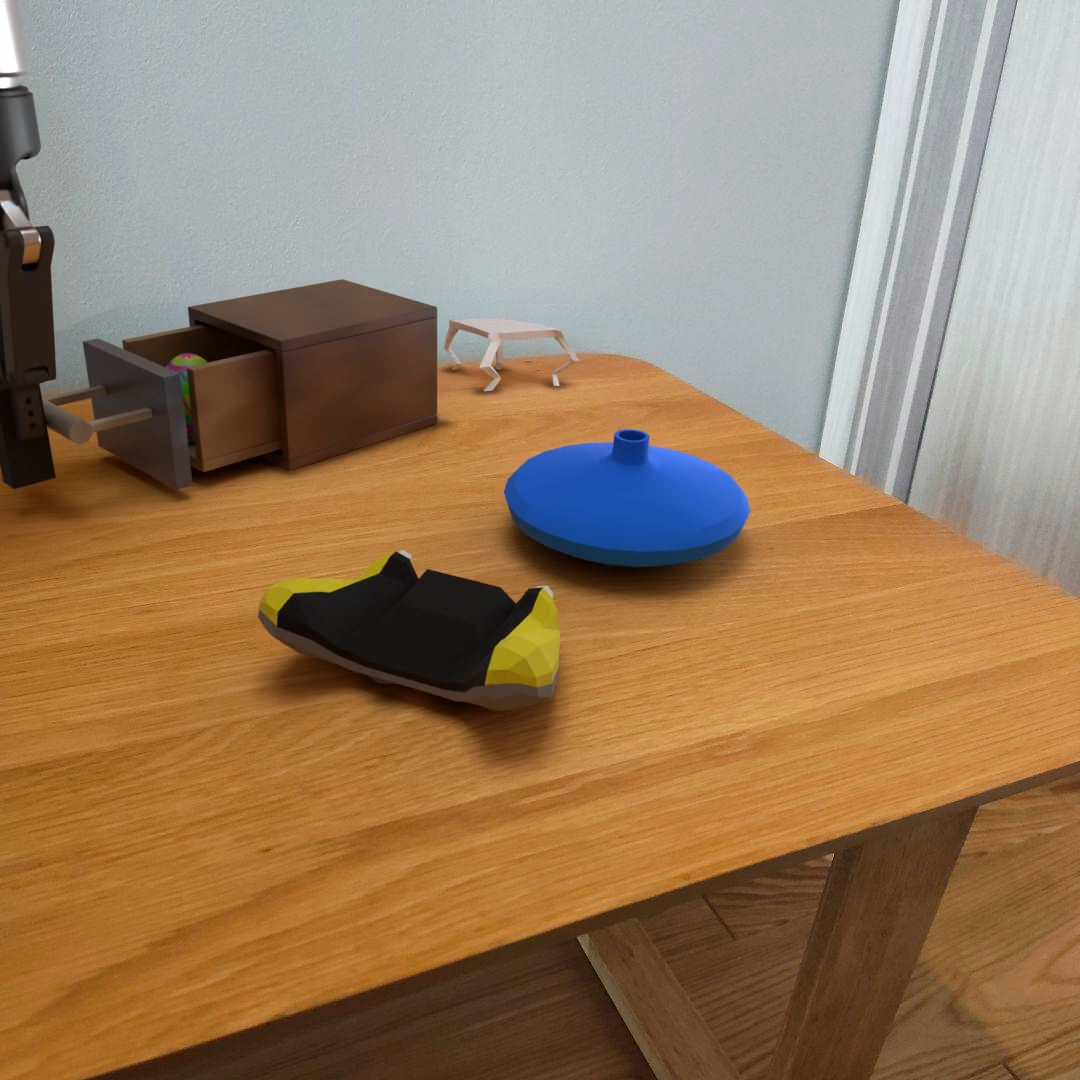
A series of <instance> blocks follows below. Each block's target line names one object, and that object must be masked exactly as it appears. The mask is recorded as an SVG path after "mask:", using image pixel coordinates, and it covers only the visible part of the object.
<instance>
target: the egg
mask: <svg viewBox="0 0 1080 1080" xmlns="http://www.w3.org/2000/svg"><path fill="white" fill-rule="evenodd" d="M204 363H208V362H207V361H206V360H204V359H203V358H201V357H200V356H198V355H195V354H191V353H185V354H181V355H179V356H177V357H175V358H174V359H173V360H171V361H170V362H169V364H168V365H167V366H166V367H165V368H168V369H170V370H172V371H175V372H177V373H179V374H180V378H181V387H182V396H183V405H184V413H185V422H186V431H187V440H188V443H195V441H194V432H193V423H192V413H191V404H190V395H189V386H188V377H187V367H191V366H195V365H200V364H204Z"/></svg>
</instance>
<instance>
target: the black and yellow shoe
mask: <svg viewBox="0 0 1080 1080" xmlns="http://www.w3.org/2000/svg"><path fill="white" fill-rule="evenodd" d="M412 556H413V555H412V554H411V553H409V552H407V551H406V550H404V549H402V550H399V551H397V550H395V551H392V552H389V553H385V554H382V555H381V556H379V557H378V558H377V559H376V560H374V562H373V563H372V564H370V565H369V567H368V568H366V569H365V570H364V571H363V572H362V573H361V574H360V575H359V576H358V577H356V578H284V579H282V580H281V581H279V582H275V584H272V585H270V586H268V587H267V588H266V590H265V592H264V593H263V595H262V597H261V598H260V600H259V606H258V615H257V618H258V620H259V621H260V622H261V625H262V626H263V627H264V629H265V630H266V631H267V632H268V634H269V635H270V636H272V637H273V638H275V639H276V640H277V641H278V642H280V643H281V644H283V645H284V646H286V647H287V648H289V649H291V650H293V651H294V652H296V653H297V654H299V655H304V656H306V657H307V656H308V657H310V658H313V659H314V658H315V659H318V660H321V661H322V660H323V661H325V662H329V663H332V664H335V665H337V666H340V667H343V668H345V669H347V670H349V671H352V672H354V673H359V674H362V675H366V676H368V678H370V679H372V680H373V681H374V682H375V683H377V684H385V685H386V684H387V685H388V684H389V685H401V686H404V687H408V688H412V689H414V690H418V691H422V692H425V693H428V694H432V695H435V696H439V697H442V698H444V699H448V700H451V701H454V702H464V703H468V704H472V705H476V706H480V707H483V708H486V709H489V710H492V711H520V710H523V709H527V708H528V707H531V706H534V705H536V704H538V703H540V702H543V701H546V700H548V699H550V698H552V697H553V695H554V692H555V689H556V686H557V684H558V680H559V671H560V670H559V668H560V649H561V648H560V647H561V632H560V626H559V614H558V609H557V607H556V603H555V601H554V593H553V591H552V589H551V588H550V587H549V585H548V584H545V585H538V586H535V587H530V588H528V589H527V590H526V591H525V592H524V593H523V595H522V596H521V597H520V598H519V599H518V601H514V599H513V598H512V597H511V596H510V595H509V594H508V593H507V592H506V591H505V590H504V589H503V588H502V586H497V585H493V584H490V583H485V582H482V581H478V580H473V579H470V578H465V577H461V576H456V575H454V574H449V573H445V572H442V571H437V570H433V569H429V568H426V569H425V571H424V572H423V573H422V574H421V575H420V577H419V576H418V574H417V572H416V570H415V568H414V566H413V557H412Z"/></svg>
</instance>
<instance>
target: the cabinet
mask: <svg viewBox="0 0 1080 1080" xmlns="http://www.w3.org/2000/svg"><path fill="white" fill-rule="evenodd" d="M187 313H188V314H187V315H188V324H189V327H191V326H196V325H201V324H209V325H212V326H214V327H217V328H220V329H222V330H225V331H228V332H230V333H233V334H236V335H238V336H241V337H244V338H246V339H249V340H252V341H254V342H257V343H260V344H262V345H265V346H268V347H270V348H273V349H276V365H277V379H278V393H279V408H280V422H281V437H282V449H279V450H276V451H273V452H269V453H266V454H263V455H259V456H258V457H261V458H263V459H265V460H266V461H270V462H272V463H273V464H276V465H277V466H280V467H282V468H284V469H286V470H288V471H293V470H296V469H299V468H301V467H305V466H308V465H312V464H314V463H318V462H321V461H324V460H326V459H330V458H333V457H336V456H339V455H342V454H346V453H349V452H352V451H354V450H355V451H356V450H359V449H361V448H364V447H367V446H372V445H374V444H378V443H380V442H383V441H386V440H389V439H392V438H396V437H398V436H401V435H404V434H408V433H411V432H415V431H417V430H421V429H423V428H428V427H430V426H433V425H436V424H438V306H435V305H431V304H428V303H425V302H422V301H418V300H415V299H412V298H408V297H404V296H401V295H399V294H394V293H392V292H387V291H384V290H381V289H378V288H373V287H370V286H367V285H364V284H360V283H357V282H353V281H349V280H346V279H343V278H341V279H335V280H330V281H325V282H318V283H314V284H307V285H303V286H302V285H301V286H296V287H290V288H286V289H285V288H284V289H280V290H273V291H269V292H264V293H257V294H251V295H246V296H240V297H235V298H229V299H225V300H224V299H223V300H217V301H213V302H207V303H201V304H196V305H191V306H187Z"/></svg>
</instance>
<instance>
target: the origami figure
mask: <svg viewBox="0 0 1080 1080" xmlns="http://www.w3.org/2000/svg"><path fill="white" fill-rule="evenodd" d="M448 323H449V324H448V326H449V327H448V329H447V333H446V335H445V342H444V347H443V349H444V351H445V352H446V353H447V354H448V355H449V357H450V358H451V359H452V360H453V361H454V362H455V365H454V366H453V367H452V368H451V371H457V370H458V369H459V368H460V367H461V366H462V362H461V361H460V360H459V359H458V357H457V356H456V355H455V354H454V352H453V351H452V350H451V348H450V347H451V345H452V342H453V340H454V337H455V336H456V335H457V334H458V332H459V330H461V331H463V332H467V333H471V334H474V335H477V336H480V337H483V338H486V339H489V342H490V343H489V345H488V347H487V348H486V350H485V352H484V355H483V357H482V359H481V361H480V363H479V365H478V368H479V369H480V370H481V371H483V372H484V373H486V374H487V375H488V376H490V377H491V378H492V379H491V380H490V381H489V382H488V384H486V386H485V387H484V388H483V392H492V391H494V389H495V388H496V387H497V386H498V383H499V382H500V380H502V378H501V376H500V374H499V373H498V372H497V371H496V370H502V367H503V361H504V341H519V340H533V339H547V338H548V339H549V338H554V339H555V340H556V342H557V343H558V344H559V345H560V346H561V347H562V348H563V350H564V351H565V352H566V354H568V356H569V357H570V358H571V359H569V360H568V361H567V362H565V363H563V364H562V365H561V366H559V367H558V368H557V369H555V370H554V371H552V372H550V377H551V382H552V385H553V386H554V387H560V381H559V376H558V374H560V373H562V372H563V371H566V370H567V369H568V368H570V367H571V366H573V365H575V364H576V363H578V362H579V358H578V356H577V355H576V353H575V351H574V349H573V348H572V347H571V345H570V344H569V342H568V341H567V339H566V337H565V336H564V334H563V332H562V331H561V330H560V329H557V328H553V327H550V326H545V325H541V324H537V323H533V322H527V321H521V320H520V321H519V320H513V319H506V318H505V319H504V318H499V317H495V318H494V317H493V318H465V319H461V318H460V319H449V320H448ZM494 358H495V365H494V367H493V366H492V363H493V361H494Z"/></svg>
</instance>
